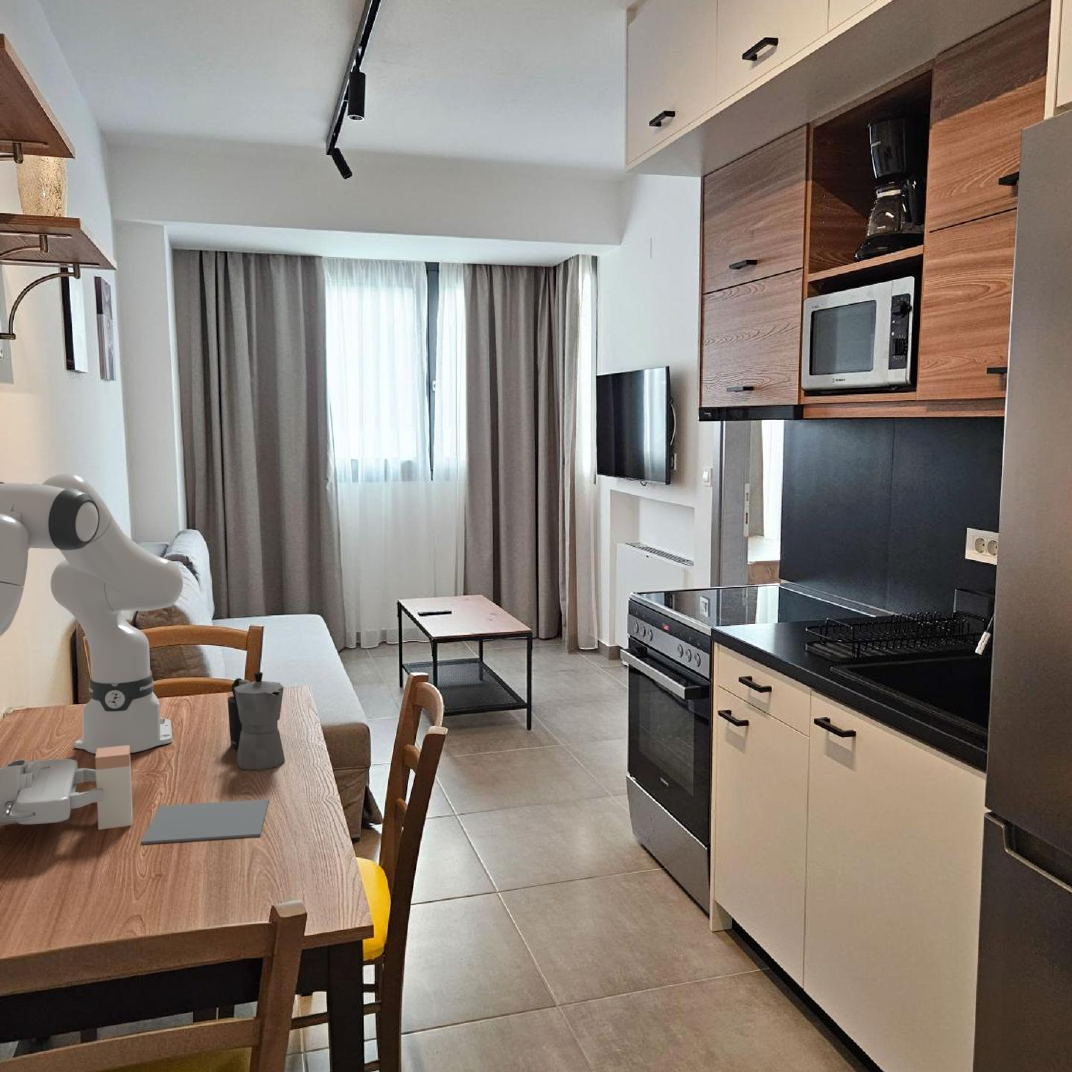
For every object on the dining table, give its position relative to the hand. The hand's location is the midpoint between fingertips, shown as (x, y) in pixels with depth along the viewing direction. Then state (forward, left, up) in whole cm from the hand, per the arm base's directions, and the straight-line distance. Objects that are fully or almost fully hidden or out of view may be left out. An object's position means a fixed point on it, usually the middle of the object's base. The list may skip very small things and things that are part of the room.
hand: (104, 784), depth 160 cm
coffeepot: (-27, +21, -7) cm, 35 cm away
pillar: (0, +1, -7) cm, 7 cm away
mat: (+2, +16, -7) cm, 18 cm away
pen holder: (-38, +19, -7) cm, 43 cm away
